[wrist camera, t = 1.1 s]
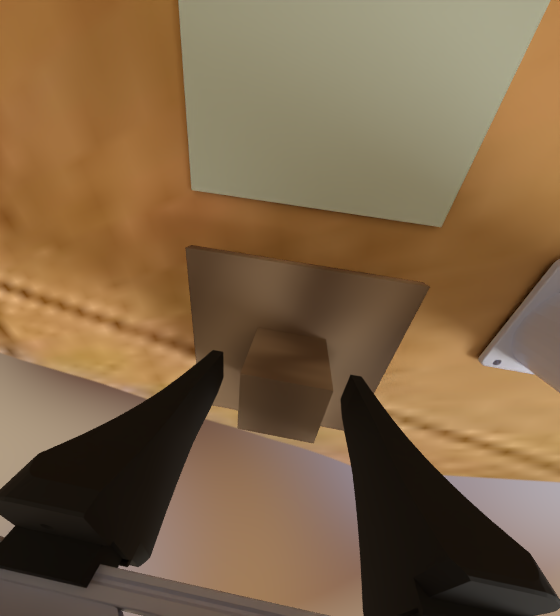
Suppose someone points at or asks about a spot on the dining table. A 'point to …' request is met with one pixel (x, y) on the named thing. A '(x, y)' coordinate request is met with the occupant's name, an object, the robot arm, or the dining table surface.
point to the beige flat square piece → (347, 98)
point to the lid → (294, 335)
